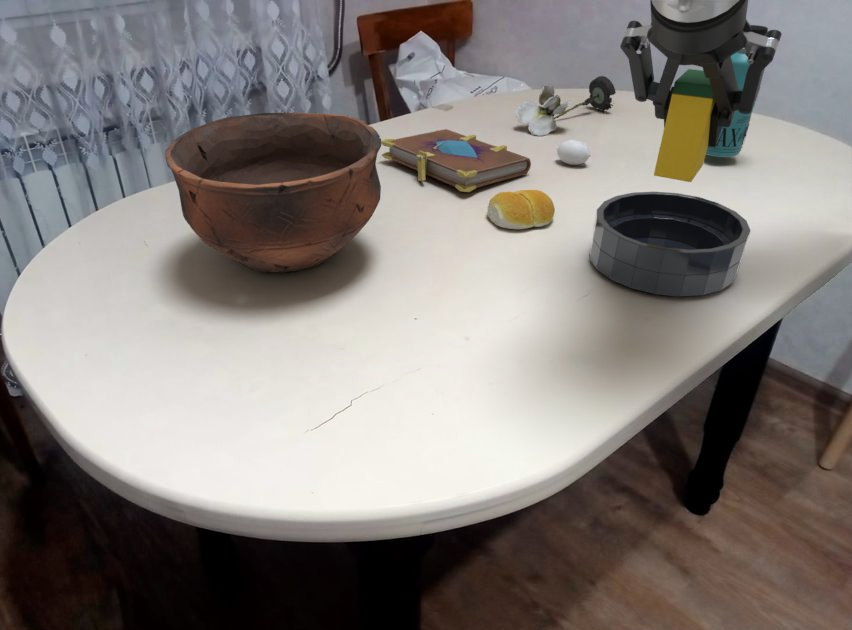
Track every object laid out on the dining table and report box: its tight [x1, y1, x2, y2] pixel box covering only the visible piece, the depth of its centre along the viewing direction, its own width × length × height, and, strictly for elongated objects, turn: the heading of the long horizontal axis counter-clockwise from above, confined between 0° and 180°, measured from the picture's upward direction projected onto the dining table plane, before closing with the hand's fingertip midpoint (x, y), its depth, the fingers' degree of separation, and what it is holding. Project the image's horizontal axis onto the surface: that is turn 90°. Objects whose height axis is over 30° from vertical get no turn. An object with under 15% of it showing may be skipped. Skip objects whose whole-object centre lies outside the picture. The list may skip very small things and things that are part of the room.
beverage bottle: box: [706, 24, 769, 158], centre depth 102 cm, size 6×7×20 cm
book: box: [381, 128, 532, 193], centre depth 108 cm, size 16×25×5 cm, turn 37°
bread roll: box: [486, 189, 556, 230], centre depth 90 cm, size 8×9×4 cm
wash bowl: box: [589, 191, 751, 297], centre depth 78 cm, size 17×17×6 cm
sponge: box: [653, 68, 716, 183], centre depth 71 cm, size 4×6×10 cm, turn 147°
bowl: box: [164, 112, 382, 274], centre depth 80 cm, size 25×25×15 cm
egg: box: [556, 139, 591, 166], centre depth 107 cm, size 4×6×4 cm, turn 52°
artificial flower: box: [515, 75, 617, 137], centre depth 124 cm, size 9×22×10 cm, turn 123°
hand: (693, 132), depth 75 cm, fingers closed on sponge, 4 cm apart
